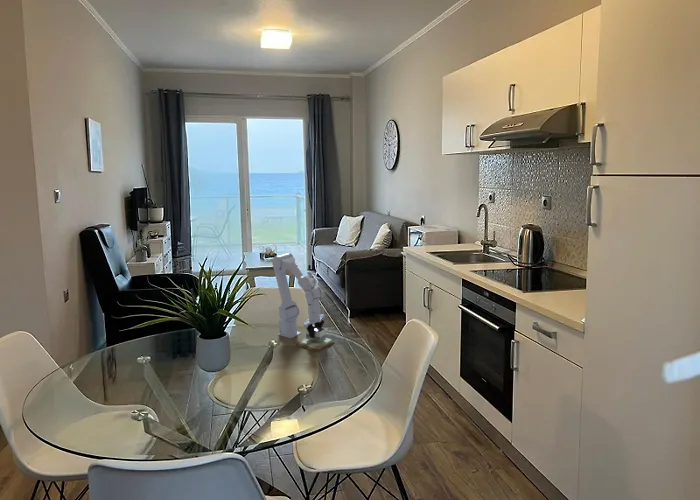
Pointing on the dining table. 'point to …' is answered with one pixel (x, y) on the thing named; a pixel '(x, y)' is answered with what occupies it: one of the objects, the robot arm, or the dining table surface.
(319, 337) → the housing
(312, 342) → the stand
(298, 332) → the robot arm
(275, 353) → the dining table surface
